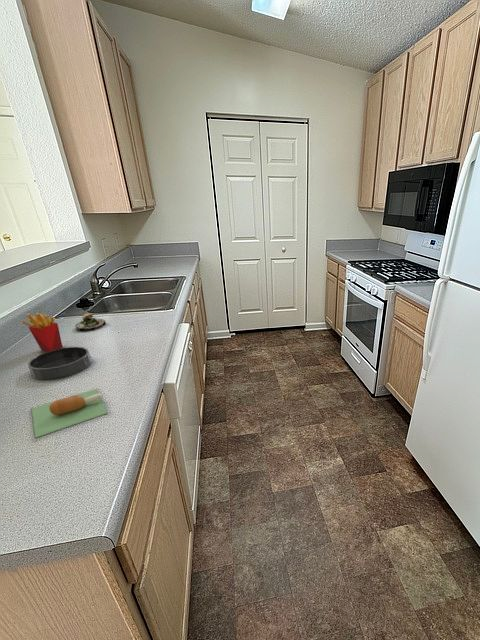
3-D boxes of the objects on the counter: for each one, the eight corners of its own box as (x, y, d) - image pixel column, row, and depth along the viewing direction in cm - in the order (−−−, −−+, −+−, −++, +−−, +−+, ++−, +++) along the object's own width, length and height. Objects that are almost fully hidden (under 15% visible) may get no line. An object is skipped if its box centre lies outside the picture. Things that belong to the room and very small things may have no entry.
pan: (31, 366, 116) (26, 356, 114) (87, 352, 125) (83, 342, 123) (34, 385, 104) (29, 374, 102) (95, 369, 113) (92, 358, 111)
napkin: (32, 409, 92) (31, 408, 92) (96, 389, 101) (96, 388, 101) (35, 438, 81) (35, 437, 81) (107, 413, 90) (107, 412, 90)
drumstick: (53, 420, 88) (49, 412, 85) (50, 408, 90) (45, 400, 87) (105, 404, 95) (102, 396, 92) (101, 393, 96) (98, 385, 93)
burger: (76, 333, 143) (70, 317, 139) (75, 325, 152) (70, 310, 148) (107, 327, 148) (103, 311, 145) (104, 320, 157) (100, 305, 154)
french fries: (53, 344, 133) (39, 308, 126) (69, 346, 130) (56, 310, 124) (32, 353, 125) (16, 315, 118) (49, 356, 123) (33, 317, 116)
